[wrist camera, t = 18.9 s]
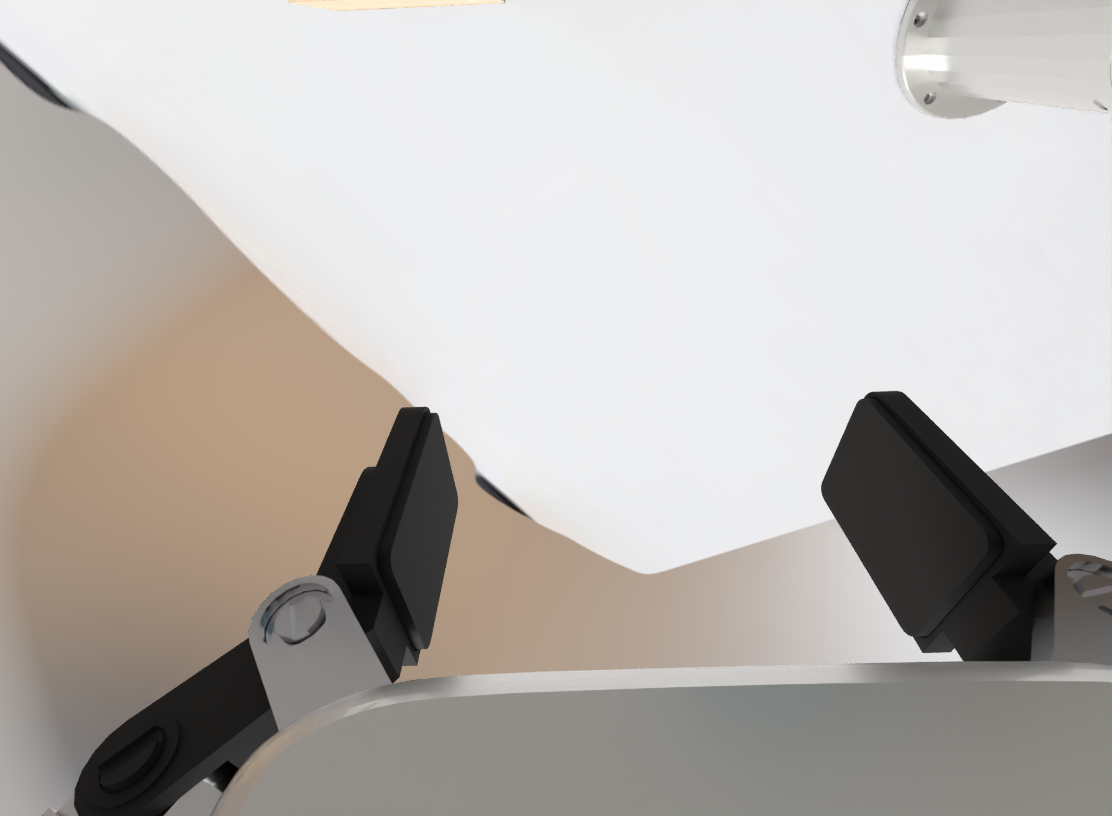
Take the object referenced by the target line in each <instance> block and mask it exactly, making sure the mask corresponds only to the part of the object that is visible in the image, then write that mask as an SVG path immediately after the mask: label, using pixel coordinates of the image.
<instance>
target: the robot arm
mask: <svg viewBox="0 0 1112 816" xmlns="http://www.w3.org/2000/svg"><path fill="white" fill-rule="evenodd" d="M915 18H916V21H915V23H914V20H915ZM896 71H897V78H898V82H899V85H900V87H901V90H902V92H903V95H904V96H905V97H906V99H907V100H908V101H909V103H910V104H911V105H912V106H913V107H915V108H916V109H917V110H919V111H920V112H922V113H924V114H927V115H930V116H933V117H937V118H944V119H965V118H969V117H973V116H977V115H981V114H983V113H986V112H988V111H990V110H993V109H995V108H997V107H999V106H1001V105H1003V104H1004V103H1006V102H1016V103H1025V104H1033V105H1041V106H1049V107H1058V108H1066V109H1074V110H1082V111H1091V112H1099V113H1107V114H1112V0H910V2H909V4H908V6H907V9H906V12H905V15H904V17H903V20H902V23H901V26H900V31H899V36H898V40H897V45H896ZM925 96H926V97H925ZM924 98H925V99H924ZM821 491H822V496H823V498H824V500H825V502H826V503H827V505H828V507H829V508H830V510H831V512H832V513H833V515H834V517H835V518H836V520H837V522H838V523H839V525H840V526H841V528H842V530H843V532H844V533H845V535H846V537H847V538H848V540H849V542H850V543H851V545H852V546H853V548H854V550H855V552H856V553H857V555H858V556H859V558H860V560H861V562H862V563H863V565H864V566H865V568H866V570H867V571H868V573H869V575H870V576H871V578H872V580H873V581H874V583H875V585H876V586H877V588H878V590H879V591H880V593H881V595H882V596H883V598H884V600H885V601H886V603H887V605H888V606H889V608H890V610H891V611H892V613H893V615H894V616H895V618H896V619H897V621H898V623H899V625H900V626H901V628H902V629H903V631H904V632H905V633H907V634H908V635H910V636H913V638H914V639H915V641H916V642H917V644H918V646H919V647H920V649H921V651H922V652H923V653H933V652H934V653H935V652H936V653H938V652H951V651H952V650H953V649H954V648H955V649H956V651H957V652H958V654H959V655H960V657H961V658H962V661H961V662H908V663H863V664H862V663H857V664H815V665H814V664H810V665H771V666H770V665H769V666H729V667H689V668H652V669H619V670H585V671H551V672H527V673H505V674H483V675H463V676H449V677H439V678H428V679H418V680H410V681H405V682H400V683H394V682H395V681H396V680H397V679H398V678H399V677H400V672H401V668H402V666H415V665H416V666H417V663H418V659H419V654H420V649H427V648H428V647H429V645H430V641H431V637H432V632H433V627H434V622H435V617H436V612H437V607H438V602H439V597H440V592H441V587H442V583H443V577H444V573H445V568H446V563H447V558H448V553H449V548H450V543H451V538H452V533H453V528H454V523H455V518H456V513H457V508H458V496H457V491H456V487H455V482H454V478H453V474H452V470H451V466H450V461H449V457H448V453H447V449H446V445H445V441H444V436H443V432H442V428H441V424H440V419H439V416H438V414H437V413H430V410H429V408H428V407H406V408H401V409H400V411H399V413H398V415H397V417H396V420H395V422H394V425H393V427H392V429H391V432H390V434H389V437H388V439H387V441H386V444H385V446H384V449H383V451H382V453H381V456H380V459H379V461H378V463H377V466H376V467H367V468H366V469H364V471H363V472H362V474H361V476H360V478H359V481H358V482H357V485H356V487H355V489H354V491H353V494H352V496H351V498H350V501H349V503H348V505H347V507H346V509H345V512H344V514H343V516H342V518H341V521H340V523H339V525H338V527H337V530H336V532H335V534H334V536H333V539H332V541H331V543H330V546H329V548H328V550H327V552H326V555H325V557H324V559H323V561H322V563H321V566H320V568H319V570H318V573H317V575H310V576H305V577H300V578H297V579H295V580H292V581H290V582H288V583H286V584H284V585H282V586H281V587H279V588H278V589H277V590H275V591H274V592H272V593H271V594H270V595H269V596H268V597H267V598H266V599H265V600H264V601H263V602H262V603H261V604H260V606H259V608H258V609H257V611H256V612H255V614H254V615H253V617H252V620H251V623H250V627H249V631H248V632H249V638H248V639H246V640H245V641H244V642H242V643H240V644H239V645H238V646H236V647H235V648H234V649H232V650H231V651H229V652H227V653H226V654H224V655H223V656H221V657H220V658H219V659H217V660H216V661H214V662H213V663H211V664H210V665H209V666H207V667H205V668H204V669H202V670H201V671H199V672H198V673H196V674H195V675H194V676H192V677H191V678H189V679H188V680H186V681H185V682H183V683H182V684H180V685H179V686H177V687H176V688H174V689H173V690H171V691H170V692H169V693H167V694H166V695H164V696H163V697H161V698H160V699H159V700H157V701H155V702H154V703H152V704H151V705H150V706H148V707H147V708H145V709H144V710H142V711H141V712H139V713H138V714H136V715H135V716H133V717H132V718H130V719H129V720H127V721H126V722H125V723H124V724H122V725H121V726H120V727H119V728H118V729H116V730H115V731H114V732H113V733H112V734H110V735H109V736H108V737H107V738H106V739H105V740H104V742H103V743H102V744H101V745H100V746H99V747H98V748H97V749H96V750H95V752H94V753H93V754H92V756H91V758H90V759H89V761H88V762H87V764H86V765H85V767H84V768H83V770H82V772H81V775H80V777H79V780H78V782H77V785H76V788H75V795H74V796H73V797H72V798H71V799H70V800H69V801H68V802H67V803H66V804H65V805H63V807H61V808H60V810H58V811H57V810H54V809H52V808H49V809H48V810H47V811H46V812H45V813H44V814H43V815H42V816H1112V561H1108V560H1105V559H1102V558H1099V557H1096V556H1091V555H1084V554H1070V555H1065V556H1063V557H1062V558H1060V559H1059V560H1057V559H1056V558H1055V557H1054V556H1053V555H1052V554H1051V553H1050V550H1051V549H1053V547H1054V546H1055V545H1056V544H1057V543H1056V542H1055V541H1054V540H1053V539H1052V538H1051V537H1050V536H1049V535H1048V534H1047V533H1046V532H1045V531H1044V530H1043V529H1042V528H1041V527H1040V526H1039V525H1038V524H1036V523H1035V521H1034V520H1032V518H1030V517H1029V516H1028V515H1027V514H1026V513H1025V512H1024V511H1023V510H1022V509H1021V508H1020V507H1019V506H1018V505H1017V504H1016V503H1015V502H1014V501H1013V500H1012V499H1011V498H1010V497H1009V496H1008V495H1007V494H1006V493H1005V492H1004V491H1003V490H1002V489H1001V488H1000V487H999V486H998V485H997V484H996V483H995V482H994V481H993V480H992V479H991V478H990V477H989V476H988V475H987V474H986V473H985V472H984V471H983V470H982V469H981V468H980V467H979V466H978V465H977V464H976V463H975V462H974V461H973V460H972V459H971V458H969V457H968V456H967V455H966V454H965V453H964V452H963V451H962V450H961V449H960V448H959V447H958V446H957V445H956V444H955V443H954V442H953V441H952V440H951V439H950V438H949V437H948V436H947V435H946V434H945V433H944V432H943V431H942V430H941V429H940V428H939V427H938V426H937V425H936V424H935V423H934V422H933V421H932V420H931V419H930V418H929V417H928V416H927V415H926V414H925V413H924V412H923V411H922V410H921V409H920V408H919V407H918V406H917V405H916V404H915V403H914V402H913V401H912V400H911V399H910V398H908V397H907V396H906V395H905V394H904V393H902V392H900V391H884V392H870V393H868V394H867V395H866V396H865V398H864V399H861V400H859V401H858V403H857V404H856V406H855V409H854V411H853V413H852V415H851V418H850V420H849V422H848V425H847V427H846V429H845V431H844V434H843V436H842V438H841V440H840V443H839V445H838V447H837V450H836V452H835V454H834V456H833V459H832V461H831V463H830V466H829V468H828V470H827V472H826V475H825V477H824V479H823V481H822V485H821ZM393 683H394V684H393Z"/></svg>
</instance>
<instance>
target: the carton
mask: <svg viewBox="0 0 1112 816" xmlns="http://www.w3.org/2000/svg"><path fill="white" fill-rule="evenodd" d="M288 3H293V4H299V5H305V6H311V7H317V8H323V9H329V10H335V11H346V10H367V9H388V8H410V7H431V6H453V5H474V4H496V3H505V2H504V0H288Z"/></svg>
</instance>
